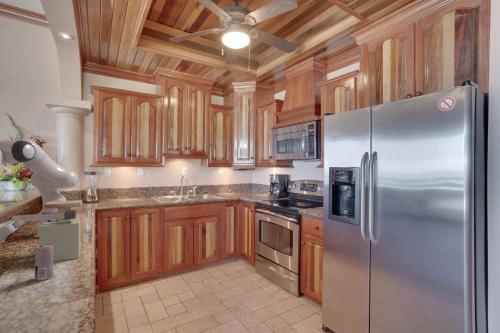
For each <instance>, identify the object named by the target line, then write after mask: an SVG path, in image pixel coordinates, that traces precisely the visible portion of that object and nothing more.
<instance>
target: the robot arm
mask: <svg viewBox="0 0 500 333" xmlns="http://www.w3.org/2000/svg"><path fill="white" fill-rule="evenodd" d="M14 163H15V164H16V163H17V164H18V163H22V164H24V165H25V166H26V167H27V168H28V169H29V170H30V171H31V172H32V174H31V176H30V183H31V184H32V186H33V187H34V188H36V189H37V191H38V192H39V194H40V196H41V200H42V211H41V212H42V213H41V214H50V213H57V208H51V209H44V204H46V203H47V202H54V201H67V199H66V196H64V195H63V194H61V193H60V189H70V188H74V187H76V186H77V185H78V183H79V176H78V174H77V173H76V172H75V171H72V170H69V169H67V168H65V167H63V166H62V165H60V164H59V163H58V162H56V161H55V160H53V158H51V157H50V155H48V153H47V152H46V151H45V150H44V149H43V148H42V147H41V146H40V145H39V144H38V143H36V142H35V141H34V140H32V139H30V138H23V139H18V140H12V139H10V140H9V139H6V140H0V171H1V169H2V165H3V164H14ZM30 219H31V218H30V217H29V216H27V217H25V218H23V219H21V220H19V221H17V222H15V221H12V219H10V220H8V221H5V222H3V223H0V245H2V244H4V243H5V242H6V239H7V238H8V236H9V235H12V234H14V232H16V231H17V230H18V229H19V228H21V227H22V226H23V225H24V224H26V223H28V222H30V221H29V220H30ZM47 222H57V219H54V220H41V221H39V222H38V226H37V233H36V234H34V235H33V236H34V238H39V227H40V226H41V225H42V224H43V223H47Z"/></svg>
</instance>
